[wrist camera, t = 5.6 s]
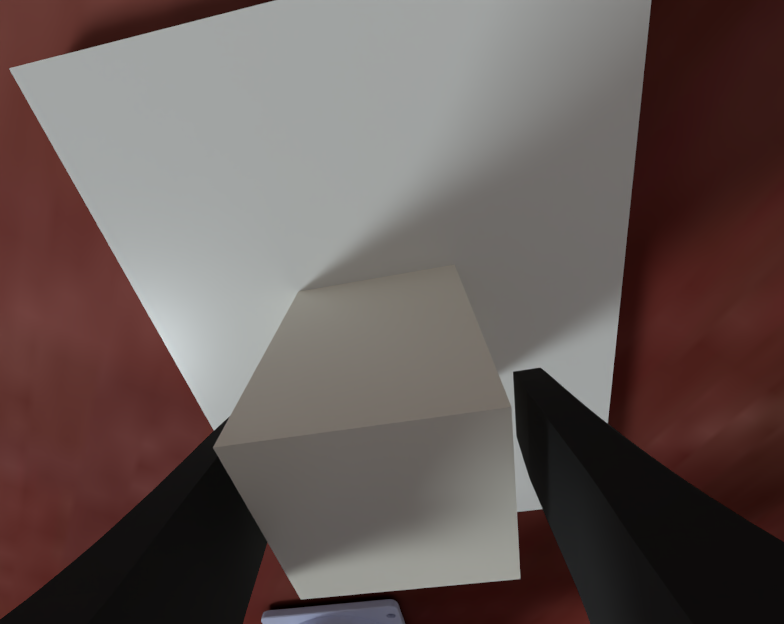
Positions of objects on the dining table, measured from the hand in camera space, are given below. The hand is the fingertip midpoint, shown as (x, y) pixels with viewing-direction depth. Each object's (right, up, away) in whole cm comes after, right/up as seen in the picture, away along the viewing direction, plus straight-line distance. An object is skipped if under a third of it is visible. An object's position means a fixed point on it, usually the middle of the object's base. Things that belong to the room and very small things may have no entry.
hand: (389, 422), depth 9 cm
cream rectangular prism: (0, +2, +3) cm, 3 cm away
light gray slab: (0, +2, +4) cm, 4 cm away
